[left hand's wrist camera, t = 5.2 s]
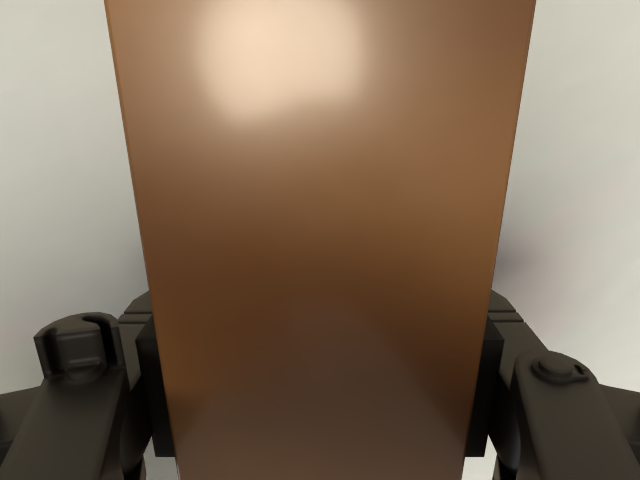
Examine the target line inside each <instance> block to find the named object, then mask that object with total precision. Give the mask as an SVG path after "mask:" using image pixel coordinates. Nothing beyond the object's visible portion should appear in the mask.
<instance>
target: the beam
mask: <svg viewBox="0 0 640 480" xmlns="http://www.w3.org/2000/svg"><path fill="white" fill-rule="evenodd" d="M104 4H105V10H106V17H107V23H108V30H109V36H110V43H111V49H112V55H113V62H114V68H115V75H116V81H117V87H118V94H119V100H120V107H121V113H122V119H123V126H124V132H125V139H126V145H127V152H128V158H129V164H130V171H131V177H132V184H133V190H134V196H135V203H136V209H137V216H138V222H139V228H140V235H141V241H142V248H143V254H144V261H145V267H146V273H147V280H148V286H149V293H150V299H151V305H152V312H153V318H154V325H155V331H156V338H157V344H158V350H159V357H160V363H161V370H162V376H163V382H164V389H165V395H166V402H167V408H168V414H169V421H170V427H171V434H172V440H173V447H174V453H175V459H176V466H177V472H178V479H179V480H461V479H462V473H463V466H464V460H465V454H466V447H467V441H468V434H469V428H470V422H471V415H472V409H473V402H474V396H475V390H476V383H477V377H478V370H479V364H480V357H481V351H482V345H483V338H484V332H485V325H486V319H487V313H488V306H489V300H490V293H491V287H492V281H493V274H494V268H495V261H496V255H497V249H498V242H499V236H500V229H501V223H502V216H503V210H504V204H505V197H506V191H507V184H508V178H509V172H510V165H511V159H512V152H513V146H514V140H515V133H516V127H517V120H518V114H519V108H520V101H521V95H522V88H523V82H524V75H525V69H526V63H527V56H528V50H529V43H530V37H531V31H532V24H533V18H534V11H535V5H536V0H104Z"/></svg>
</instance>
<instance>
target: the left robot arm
mask: <svg viewBox="0 0 640 480" xmlns="http://www.w3.org/2000/svg"><path fill="white" fill-rule="evenodd" d="M33 338H34V342H35V345H36V349H37V353H38V356H39V360H40V364H41V367H42V371H43V374H44V380H43V382H42V384H41V386H38V387H34V388H30V389H25V390H20V391H15V392H10V393H5V394H0V480H146V468H145V462H144V457H143V454H144V451H145V449H146V447H147V445H148V443H149V440H150V438H151V436H152V440H153V445H154V451H155V457H175V453H174V447H173V440H172V434H171V427H170V421H169V414H168V408H167V402H166V395H165V389H164V382H163V376H162V370H161V363H160V357H159V350H158V344H157V338H156V331H155V325H154V318H153V312H152V305H151V299H150V293H149V291H148V292H146V293H144V294H143V295H141V296H140V297H138V298H136V299H135V300H133V301H132V303H131V304H130V305H129V306H128V308H127V309H126V310H125V311H124V314H122V315H121V316H120V318H119V319H118V320H117V319H116V318H115V317H113V316H112V315H110V314H105V313H101V312H92V313H81V314H76V315H71V316H68V317H65V318H62V319H60V320H57V321H54V322H53V323H51V324H49V325H47V326H46V327H44V328H42V329H41V330H40V331H39V332H38V333H37V334H36V335H35V336H34V337H33ZM488 435H489V437H490V439H491V441H492V443H493V445H494V448H495V450H496V452H497V457H496V462H495V467H494V473H493V478H492V480H640V392H635V391H630V390H625V389H620V388H615V387H610V386H605V385H602V384H599V383H598V381H597V379H596V377H595V376H594V375H593V373H592V372H591V371H590V370H589V368H587V367H586V366H585V365H583V364H582V363H580V362H579V361H577V360H576V359H573V358H571V357H569V356H566V355H564V354H562V353H557V352H553V351H549V350H548V349H547V348H546V347H545V346H544V344H543V343H542V342H541V341H540V340H539V338H538V337H537V336H536V335H535V333H534V332H533V331H532V330H531V328H530V327H529V326H528V325H527V324H526V322H524V320H523V319H522V317H521V316H520V315H519V314H518V313H516V310H515V309H514V307H513V306H512V305H511V304H510V303H509V301H508V300H507V299H506V298H504V297H503V296H501V295H499V294H498V293H496V292H494V291H493V290H491V293H490V300H489V306H488V313H487V319H486V325H485V332H484V338H483V345H482V351H481V357H480V364H479V370H478V377H477V383H476V390H475V396H474V402H473V409H472V415H471V422H470V428H469V434H468V441H467V447H466V454H465V457H484V455H485V449H486V443H487V438H488Z"/></svg>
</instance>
